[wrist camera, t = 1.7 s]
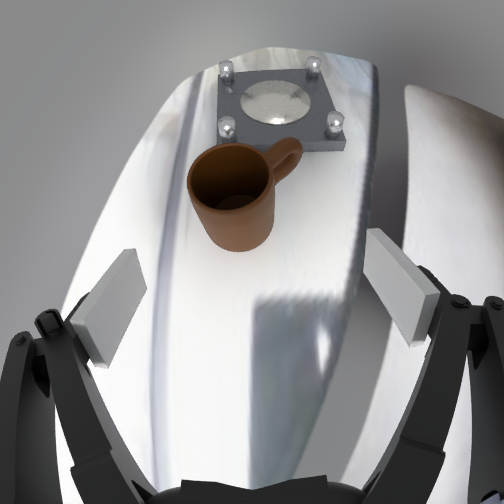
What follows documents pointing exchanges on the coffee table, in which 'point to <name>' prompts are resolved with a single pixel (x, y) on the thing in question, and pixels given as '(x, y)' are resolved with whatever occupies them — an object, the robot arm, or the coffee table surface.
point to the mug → (240, 190)
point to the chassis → (277, 108)
